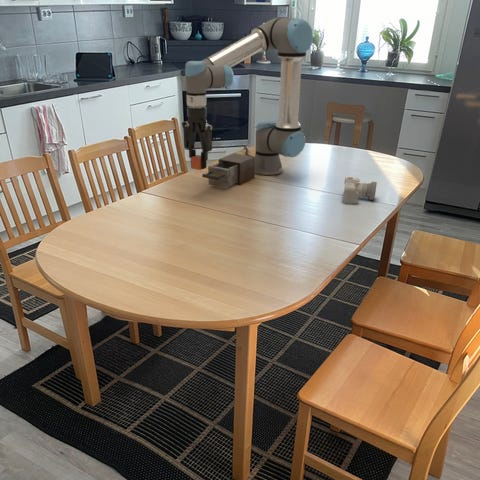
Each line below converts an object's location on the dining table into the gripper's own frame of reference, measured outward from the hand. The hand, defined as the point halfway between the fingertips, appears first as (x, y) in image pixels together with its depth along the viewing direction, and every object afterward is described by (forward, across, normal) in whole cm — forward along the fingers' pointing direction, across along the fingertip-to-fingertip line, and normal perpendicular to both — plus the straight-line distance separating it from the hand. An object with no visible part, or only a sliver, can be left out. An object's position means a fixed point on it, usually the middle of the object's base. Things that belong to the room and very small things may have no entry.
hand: (198, 167), depth 203 cm
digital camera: (+13, +58, +34) cm, 69 cm away
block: (0, 0, 0) cm, 0 cm away
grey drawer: (+11, +1, +16) cm, 20 cm away
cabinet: (+12, +1, +29) cm, 31 cm away
